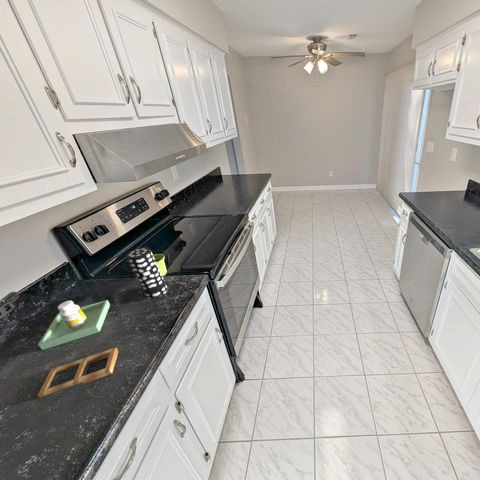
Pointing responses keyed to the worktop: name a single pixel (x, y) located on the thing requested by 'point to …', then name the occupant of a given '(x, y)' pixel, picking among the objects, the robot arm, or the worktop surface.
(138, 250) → the white-spotted black cylinder
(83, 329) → the tray
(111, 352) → the bottle rack
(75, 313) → the supplement bottle
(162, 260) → the plant pot
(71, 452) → the worktop surface
